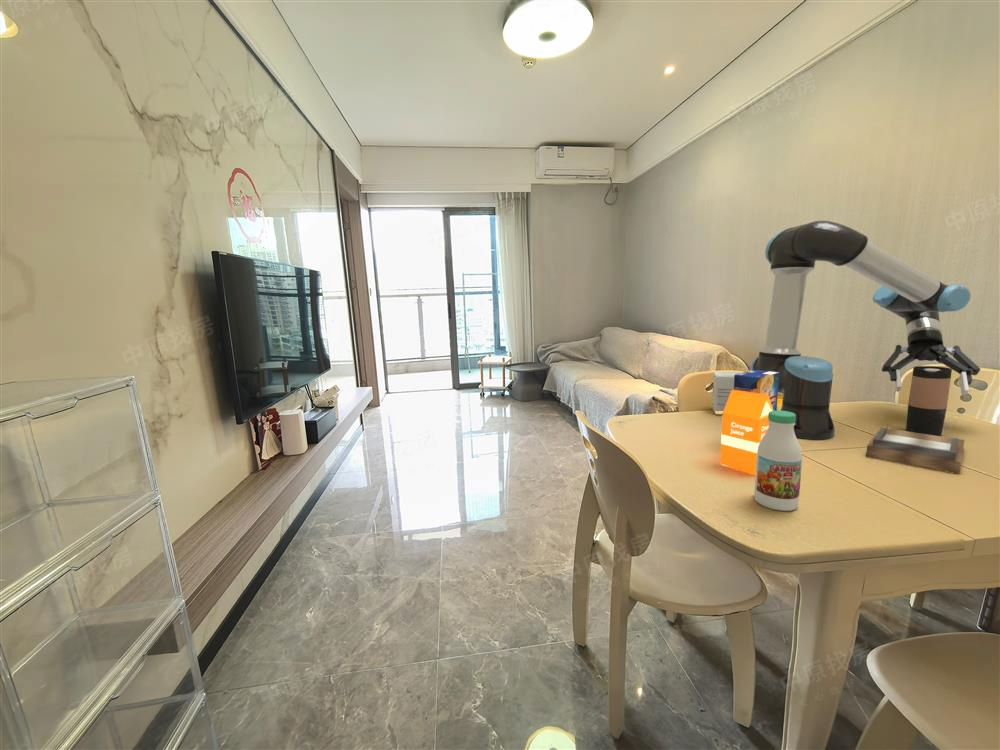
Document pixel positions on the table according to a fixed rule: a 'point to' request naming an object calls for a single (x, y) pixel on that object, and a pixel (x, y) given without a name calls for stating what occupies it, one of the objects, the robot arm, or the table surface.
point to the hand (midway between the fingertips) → (930, 391)
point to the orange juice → (744, 429)
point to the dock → (917, 449)
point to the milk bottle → (779, 464)
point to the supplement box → (722, 389)
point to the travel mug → (928, 399)
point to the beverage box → (759, 384)
